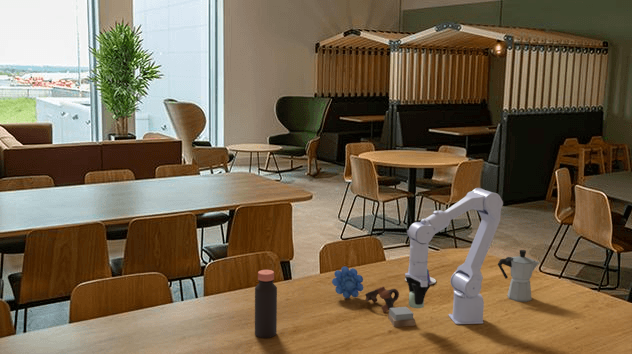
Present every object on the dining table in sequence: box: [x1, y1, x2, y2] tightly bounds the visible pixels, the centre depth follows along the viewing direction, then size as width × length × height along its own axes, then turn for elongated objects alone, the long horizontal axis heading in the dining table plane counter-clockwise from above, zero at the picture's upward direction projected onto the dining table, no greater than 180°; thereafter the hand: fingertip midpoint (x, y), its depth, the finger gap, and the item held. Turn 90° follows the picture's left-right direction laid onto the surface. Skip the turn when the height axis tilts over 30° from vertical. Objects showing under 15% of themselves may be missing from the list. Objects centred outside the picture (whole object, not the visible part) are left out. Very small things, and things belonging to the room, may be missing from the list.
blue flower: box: [331, 266, 364, 299], centre depth 233 cm, size 12×7×12 cm, turn 101°
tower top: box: [388, 306, 414, 321], centre depth 214 cm, size 6×6×2 cm
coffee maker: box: [497, 249, 541, 303], centre depth 238 cm, size 15×9×18 cm, turn 84°
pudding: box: [404, 268, 437, 286], centre depth 256 cm, size 12×12×5 cm
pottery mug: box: [364, 286, 400, 313], centre depth 228 cm, size 12×10×8 cm
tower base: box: [387, 313, 416, 327], centre depth 215 cm, size 7×7×2 cm
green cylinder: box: [408, 291, 425, 309], centre depth 210 cm, size 5×5×4 cm
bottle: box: [254, 269, 278, 339], centre depth 201 cm, size 7×7×20 cm
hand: (416, 301), depth 210 cm, fingers closed on green cylinder, 5 cm apart
